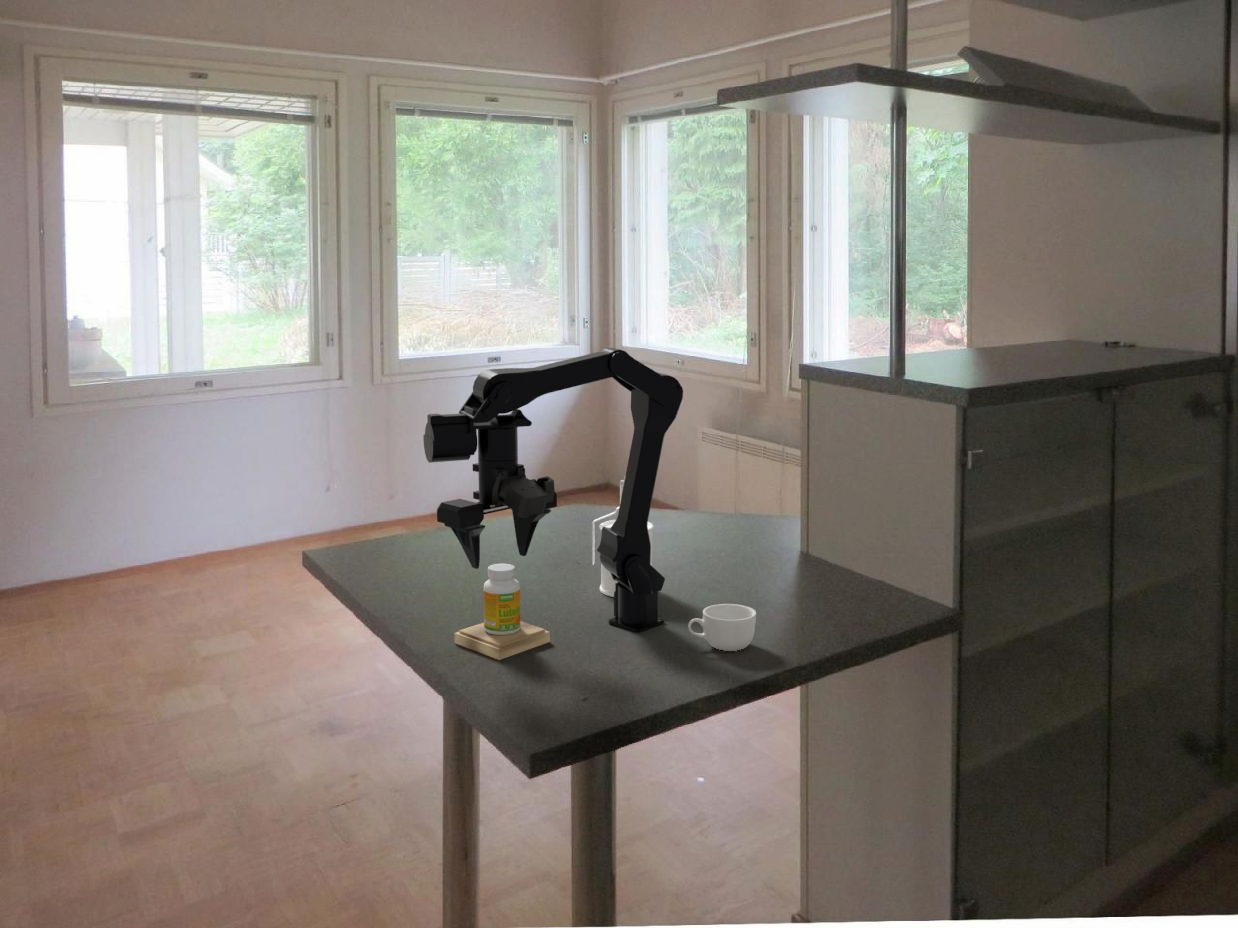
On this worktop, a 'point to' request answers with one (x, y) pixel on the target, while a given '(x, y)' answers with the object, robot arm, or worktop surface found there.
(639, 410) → the robot arm
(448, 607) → the worktop surface
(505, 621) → the supplement bottle
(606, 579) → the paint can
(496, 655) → the beige square tray
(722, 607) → the teacup
